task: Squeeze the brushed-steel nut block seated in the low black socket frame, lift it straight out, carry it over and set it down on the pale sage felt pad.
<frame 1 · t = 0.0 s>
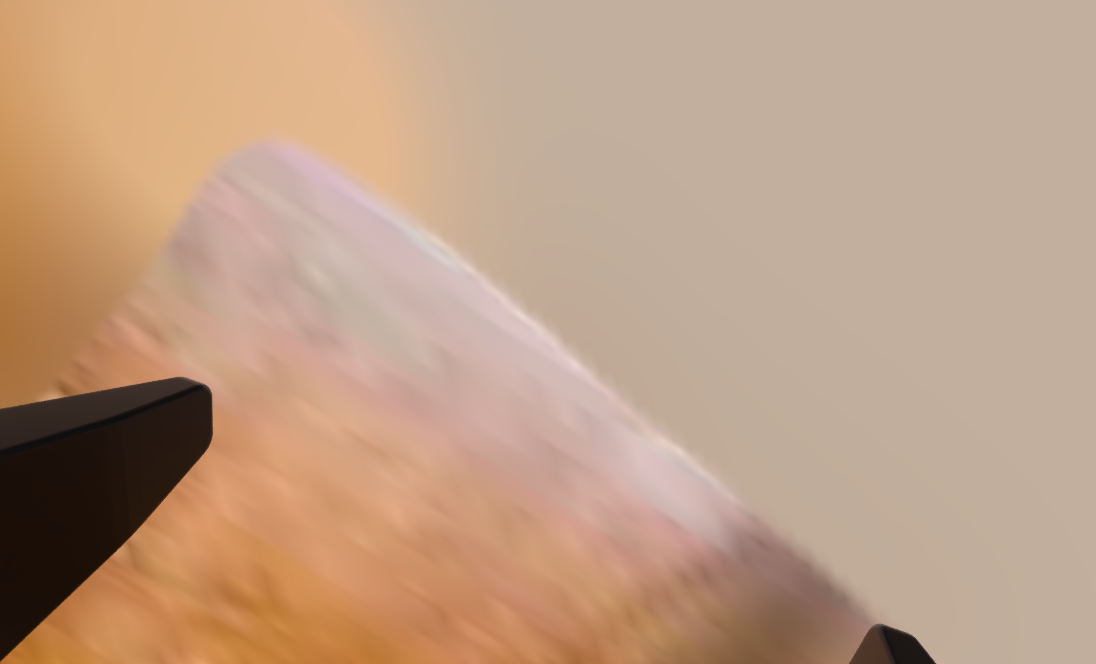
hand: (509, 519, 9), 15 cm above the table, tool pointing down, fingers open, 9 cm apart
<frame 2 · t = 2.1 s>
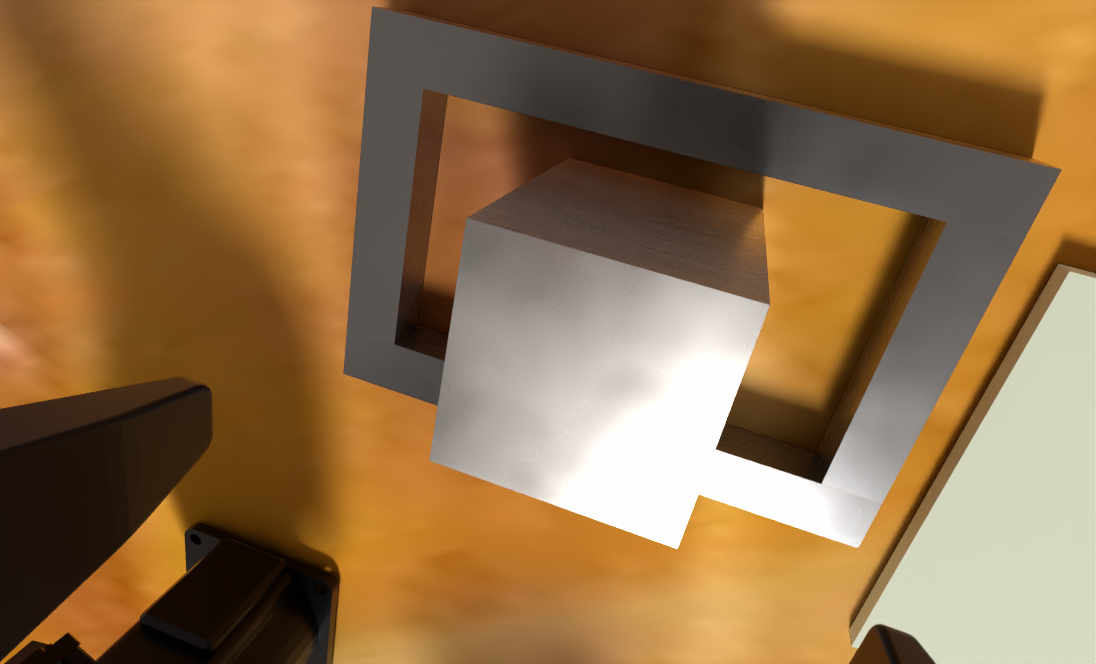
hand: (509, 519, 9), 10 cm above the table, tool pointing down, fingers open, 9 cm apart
socket frame: (637, 274, 18), on the table
nut block: (638, 273, 18), resting in socket frame
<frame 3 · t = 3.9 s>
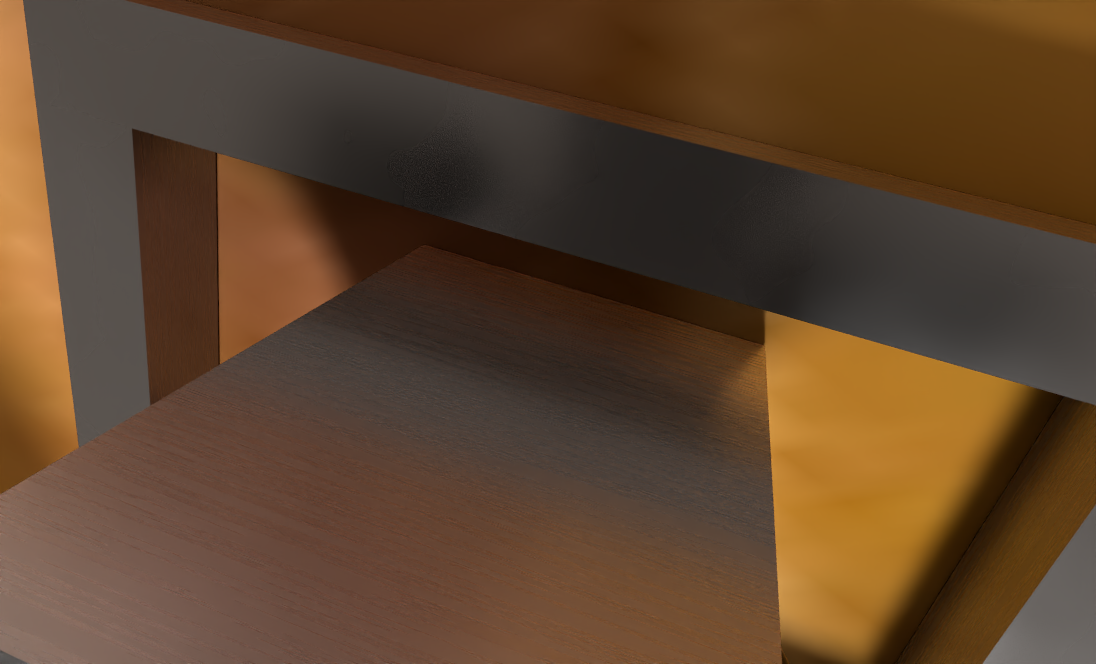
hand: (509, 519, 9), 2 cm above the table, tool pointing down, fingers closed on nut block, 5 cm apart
socket frame: (550, 439, 10), on the table
nut block: (550, 438, 10), resting in socket frame, touching gripper
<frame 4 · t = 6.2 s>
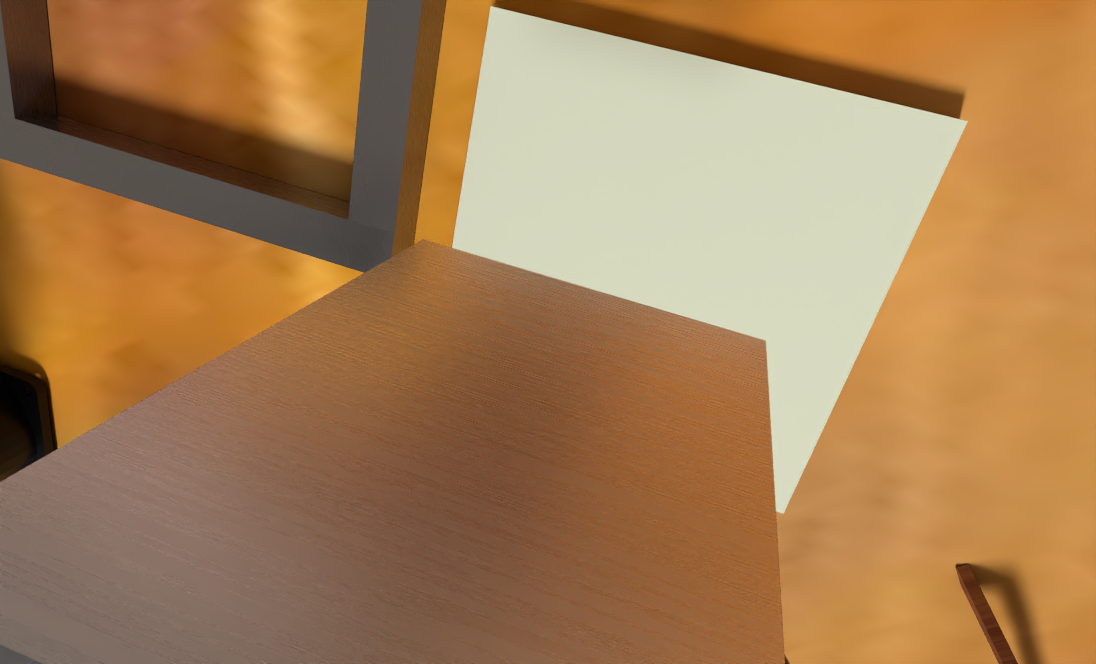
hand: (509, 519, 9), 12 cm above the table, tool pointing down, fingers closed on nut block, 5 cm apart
felt pad: (652, 275, 20), on the table
socket frame: (208, 47, 21), on the table
nut block: (550, 434, 10), point 10 cm above the table, touching gripper
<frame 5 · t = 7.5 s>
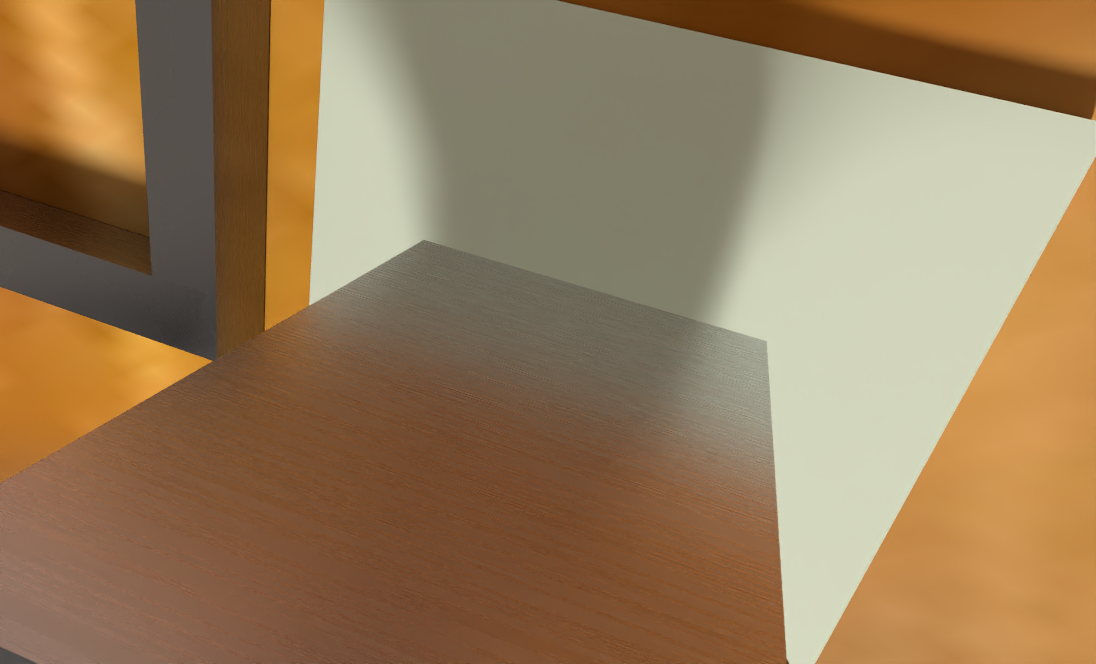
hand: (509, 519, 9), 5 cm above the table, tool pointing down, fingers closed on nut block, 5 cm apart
felt pad: (597, 357, 13), on the table
nut block: (551, 434, 10), point 3 cm above the table, touching gripper
when the fingers open (3 cm above the table, at t = 8.7 s): nut block stays where it is, resting on felt pad.
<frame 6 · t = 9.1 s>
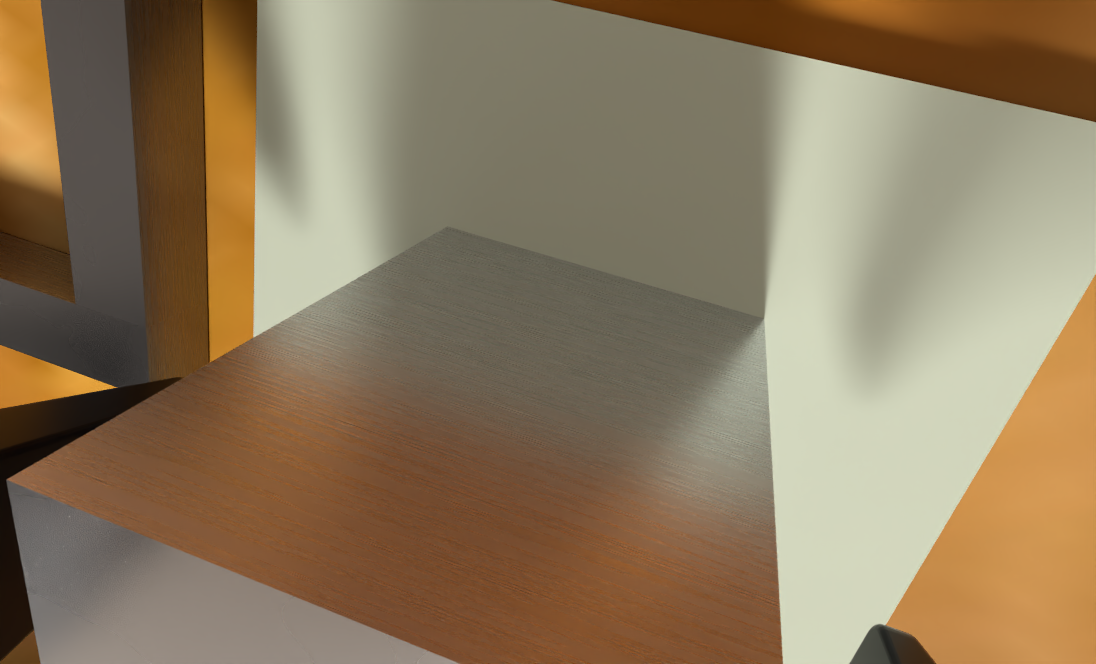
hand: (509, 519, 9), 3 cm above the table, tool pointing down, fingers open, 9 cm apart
felt pad: (574, 396, 12), on the table
nut block: (564, 408, 11), point 1 cm above the table, touching felt pad
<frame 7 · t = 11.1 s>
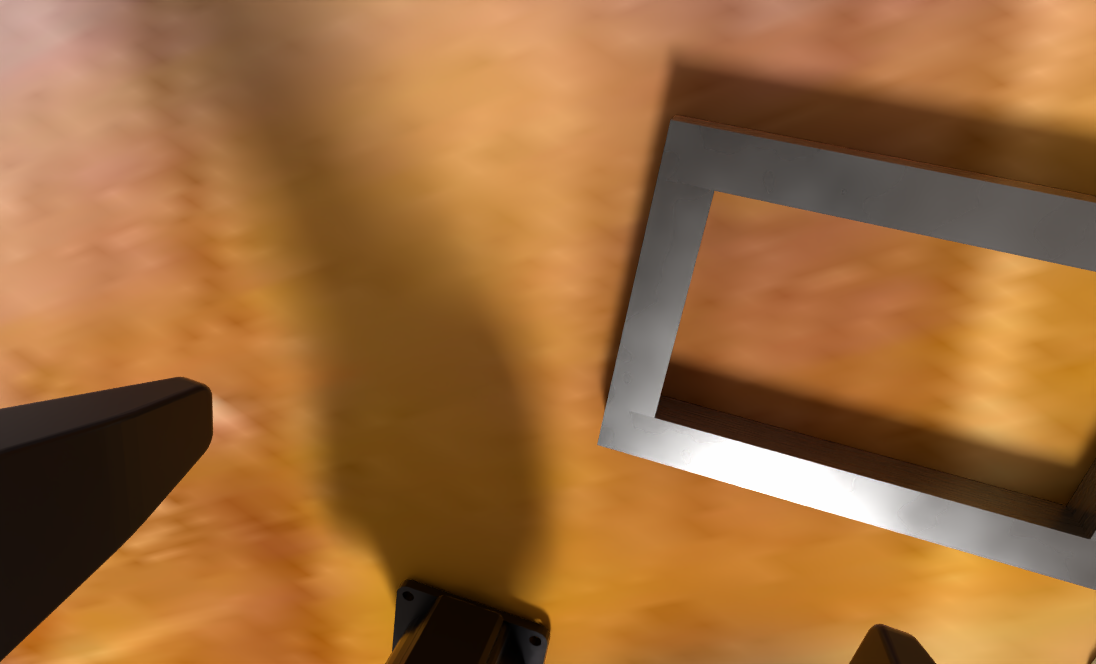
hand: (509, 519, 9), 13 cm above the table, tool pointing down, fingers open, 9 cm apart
socket frame: (895, 346, 19), on the table
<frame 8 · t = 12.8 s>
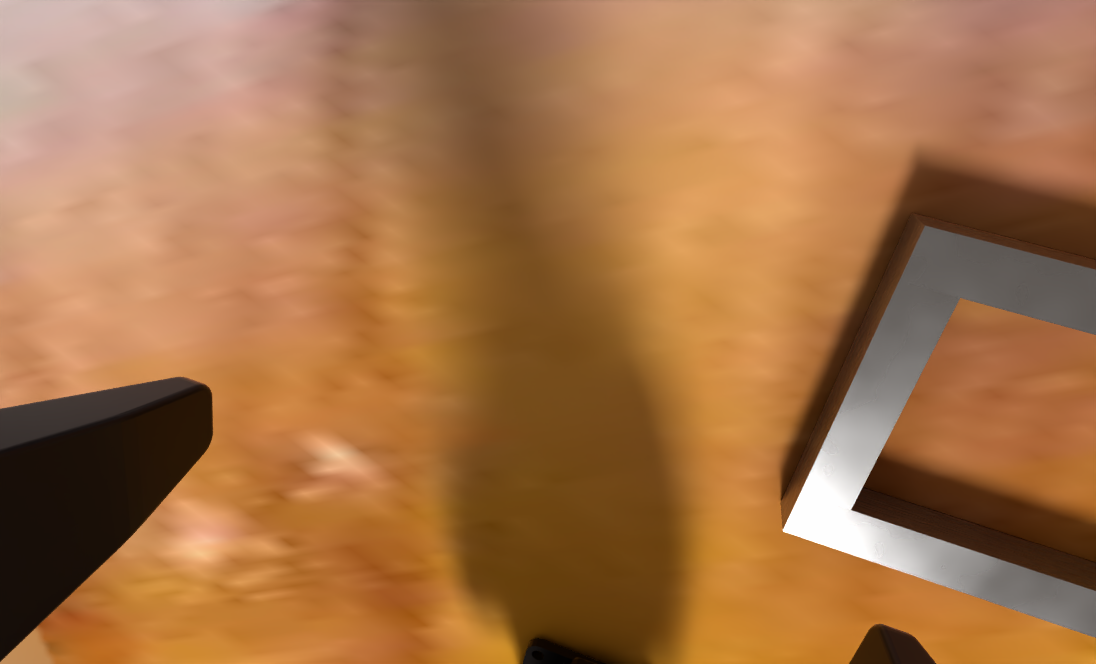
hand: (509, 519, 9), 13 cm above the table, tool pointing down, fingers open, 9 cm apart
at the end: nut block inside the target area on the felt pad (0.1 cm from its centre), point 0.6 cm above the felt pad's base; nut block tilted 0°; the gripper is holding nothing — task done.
